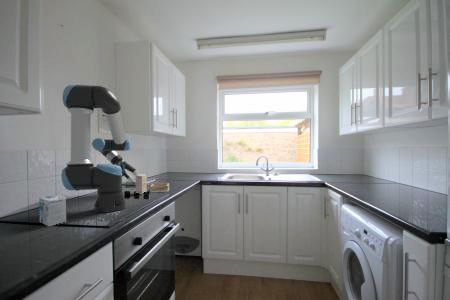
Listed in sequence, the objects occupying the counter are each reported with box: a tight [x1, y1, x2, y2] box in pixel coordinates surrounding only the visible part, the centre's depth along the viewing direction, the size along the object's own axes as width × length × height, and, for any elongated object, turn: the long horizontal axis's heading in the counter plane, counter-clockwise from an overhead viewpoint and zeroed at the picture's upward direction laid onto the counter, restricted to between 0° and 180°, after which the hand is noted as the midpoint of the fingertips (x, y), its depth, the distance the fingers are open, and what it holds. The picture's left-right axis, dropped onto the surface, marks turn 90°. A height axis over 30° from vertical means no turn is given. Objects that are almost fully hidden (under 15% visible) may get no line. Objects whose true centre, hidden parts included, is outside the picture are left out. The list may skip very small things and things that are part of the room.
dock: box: [149, 182, 170, 194], centre depth 170 cm, size 12×12×4 cm
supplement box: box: [134, 173, 148, 195], centre depth 160 cm, size 8×5×13 cm, turn 178°
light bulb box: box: [38, 194, 67, 227], centre depth 101 cm, size 11×7×11 cm, turn 55°
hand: (136, 179), depth 161 cm, fingers open, 13 cm apart
